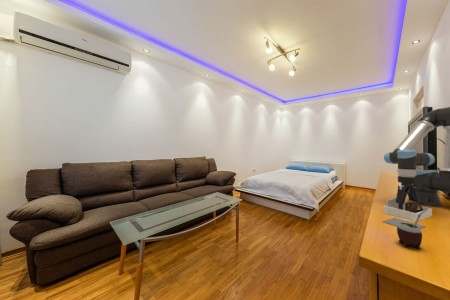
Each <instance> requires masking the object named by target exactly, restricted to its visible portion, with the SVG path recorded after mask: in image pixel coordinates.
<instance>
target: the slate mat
mask: <svg viewBox="0 0 450 300" xmlns="http://www.w3.org/2000/svg"><path fill="white" fill-rule="evenodd" d="M382 223H383V224H387V225H391V226H394V227H396V228H397V227H398V225H399V224H400V223H409V224H413V225H414V224H415V222H413V221H412V222H411V221H409V220H406V219H402V218H399V217H398V218H397V217H393V218H392V217H391V218H388V219H385V220H382ZM416 226H417V227H419V229H420V230H421V229H424V228H427V226H426V225H422V224H418V223H417V225H416Z"/></svg>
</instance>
